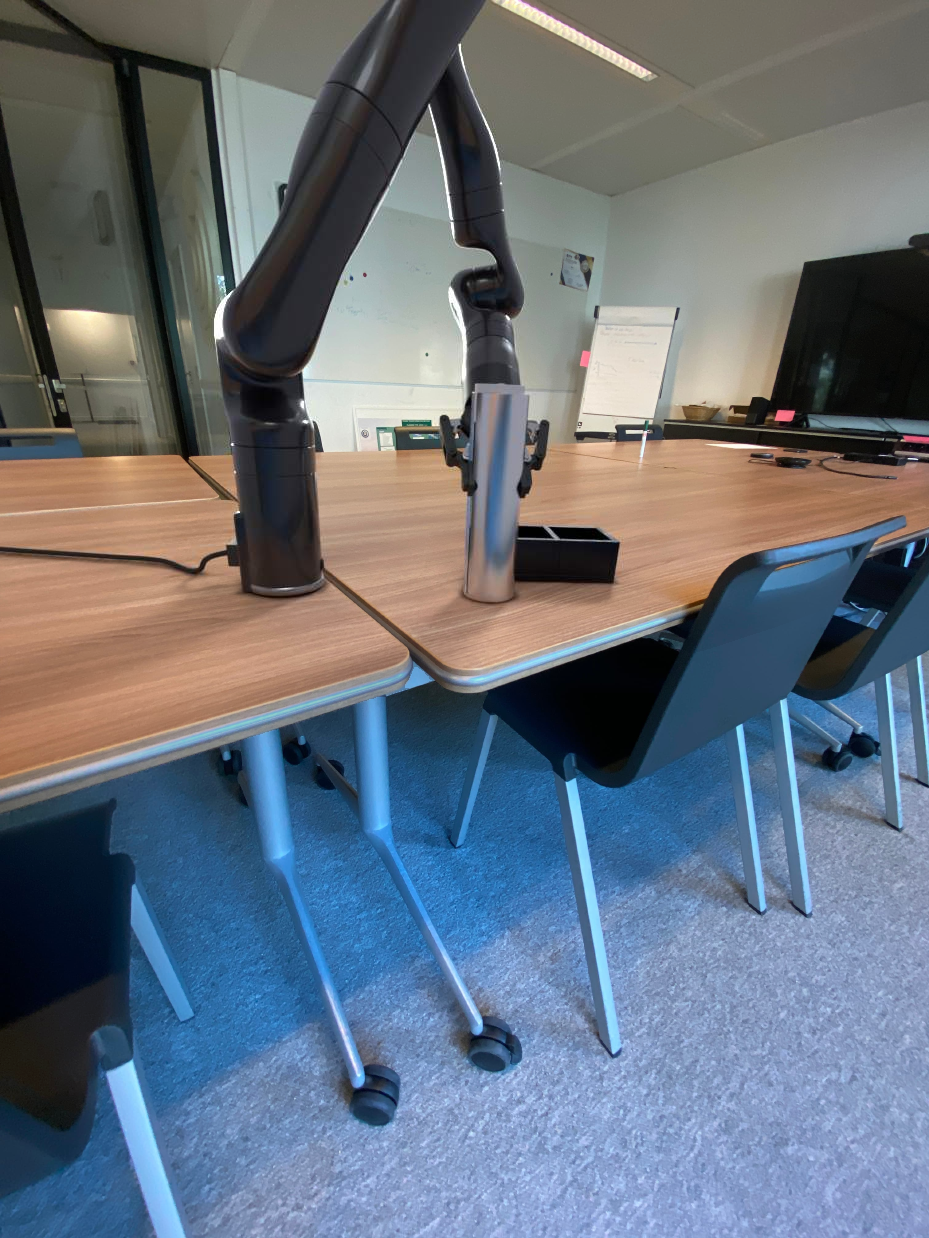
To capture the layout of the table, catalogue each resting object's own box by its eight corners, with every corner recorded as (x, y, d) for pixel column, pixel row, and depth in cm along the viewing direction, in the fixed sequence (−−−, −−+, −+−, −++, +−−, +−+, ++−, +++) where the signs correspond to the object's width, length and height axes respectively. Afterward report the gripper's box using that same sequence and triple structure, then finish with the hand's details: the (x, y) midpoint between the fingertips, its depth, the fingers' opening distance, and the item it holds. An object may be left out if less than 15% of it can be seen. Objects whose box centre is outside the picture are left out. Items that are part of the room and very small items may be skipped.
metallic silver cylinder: (509, 605, 65) (527, 383, 56) (458, 599, 66) (467, 381, 57) (515, 588, 71) (533, 385, 62) (468, 583, 72) (477, 383, 63)
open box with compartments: (492, 580, 74) (495, 538, 72) (485, 561, 82) (487, 523, 80) (613, 583, 76) (620, 542, 73) (594, 564, 84) (599, 527, 82)
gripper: (436, 356, 64) (437, 471, 58) (552, 363, 66) (565, 475, 59) (434, 403, 71) (434, 509, 65) (539, 408, 73) (549, 513, 66)
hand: (497, 493), depth 62 cm, fingers closed on metallic silver cylinder, 5 cm apart
